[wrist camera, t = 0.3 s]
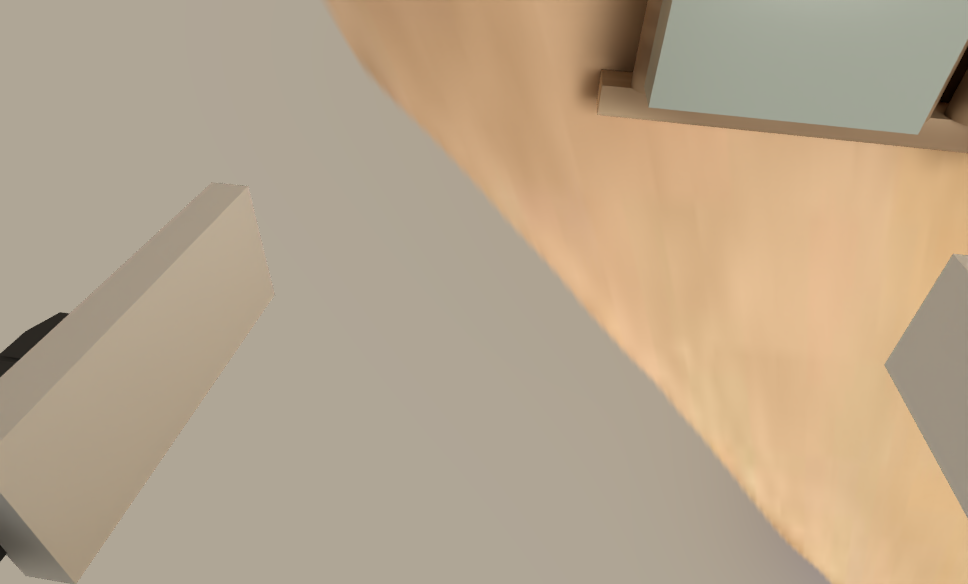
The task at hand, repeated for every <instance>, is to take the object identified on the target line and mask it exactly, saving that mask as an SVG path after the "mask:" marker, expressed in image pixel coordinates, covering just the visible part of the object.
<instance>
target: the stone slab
mask: <svg viewBox="0 0 968 584" xmlns="http://www.w3.org/2000/svg"><path fill="white" fill-rule="evenodd" d="M967 40H968V0H663V1H662V5H661V10H660V14H659V19H658V24H657V28H656V33H655V38H654V42H653V47H652V52H651V56H650V61H649V66H648V70H647V75H646V79H645V84H644V89H645V94H646V98H647V103H648V107H649V108H659V109H669V110H679V111H689V112H699V113H708V114H718V115H728V116H738V117H748V118H758V119H768V120H778V121H787V122H797V123H807V124H817V125H827V126H837V127H847V128H857V129H866V130H876V131H886V132H896V133H906V134H916V135H918V134H919V132H920V130H921V128H922V126H923V124H924V122H925V120H926V118H927V116H928V114H929V113H930V111H931V109H932V107H933V105H934V103H935V101H936V99H937V97H938V95H939V93H940V91H941V90H942V88H943V86H944V84H945V82H946V80H947V78H948V76H949V74H950V72H951V70H952V68H953V67H954V65H955V63H956V61H957V59H958V57H959V55H960V53H961V51H962V49H963V47H964V45H965V43H966V42H967Z"/></svg>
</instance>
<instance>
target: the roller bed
mask: <svg viewBox="0 0 968 584" xmlns="http://www.w3.org/2000/svg"><path fill="white" fill-rule="evenodd" d="M662 1H663V0H648V1H647V6H646V11H645V16H644V21H643V26H642V31H641V35H640V40H639V45H638V50H637V55H636V60H635V65H634V70H633V72H624V71H613V70H603V69H602V70H601V76H600V82H599V88H598V94H597V115H603V116H613V117H623V118H632V119H642V120H652V121H662V122H671V123H681V124H691V125H700V126H710V127H720V128H729V129H739V130H749V131H759V132H768V133H778V134H788V135H797V136H807V137H817V138H827V139H836V140H846V141H856V142H865V143H875V144H885V145H895V146H904V147H914V148H924V149H933V150H943V151H953V152H962V153H968V69H967V71H966V73H965V74H964V76H963V78H962V80H961V82H960V84H959V86H958V88H957V89H956V91H955V93H954V95H953V97H952V99H951V101H950V102H949V103H944V102H939V100H940V98H941V96H942V94H943V92H944V90H945V88H946V86H947V84H948V83H949V81H950V79H951V77H952V75H953V73H954V71H955V69H956V67H957V65H958V64H959V62H960V60H961V58H962V56H963V54H964V52H965V50H966V48H967V46H968V40H967V42H966V43H965V45H964V47H963V49H962V51H961V53H960V55H959V57H958V59H957V61H956V63H955V65H954V67H953V68H952V70H951V72H950V74H949V76H948V78H947V80H946V82H945V84H944V86H943V88H942V90H941V91H940V93H939V95H938V97H937V99H936V101H935V103H934V105H933V107H932V109H931V111H930V113H929V114H928V116H927V118H926V120H925V122H924V124H923V126H922V128H921V130H920V132H919V134H918V135H916V134H906V133H896V132H886V131H876V130H866V129H857V128H847V127H837V126H827V125H817V124H807V123H797V122H787V121H778V120H768V119H758V118H748V117H738V116H728V115H718V114H708V113H699V112H689V111H679V110H669V109H659V108H649V107H648V103H647V98H646V94H645V89H644V84H645V79H646V75H647V70H648V66H649V61H650V56H651V52H652V47H653V42H654V38H655V33H656V28H657V24H658V19H659V14H660V10H661V5H662Z"/></svg>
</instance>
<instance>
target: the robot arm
mask: <svg viewBox="0 0 968 584" xmlns="http://www.w3.org/2000/svg"><path fill="white" fill-rule="evenodd" d="M274 295H275V294H274V290H273V286H272V282H271V277H270V273H269V269H268V266H267V261H266V257H265V253H264V249H263V245H262V240H261V237H260V232H259V228H258V224H257V220H256V216H255V212H254V208H253V204H252V199H251V195H250V191H249V187H248V186H243V185H233V184H223V183H211V184H210V185H209V186H208V187H206V188H205V189H204V190H203V191H202V192H201V193H200V194H199V195H198V196H197V197H196V198H195V199H193V200H192V201H191V202H190V203H189V204H188V205H187V206H186V207H185V208H184V209H183V210H181V211H180V212H179V213H178V214H177V215H176V216H175V217H174V218H173V219H172V220H171V221H169V222H168V223H167V224H166V225H165V226H164V227H163V228H162V229H161V230H160V231H159V232H158V233H157V234H156V235H154V236H153V237H152V238H151V239H150V240H149V241H148V242H147V243H146V244H145V245H144V246H142V247H141V248H140V249H139V250H138V251H137V252H136V253H135V254H134V255H133V256H132V257H131V258H129V259H128V260H127V261H126V262H125V263H124V264H123V265H122V266H121V267H120V268H118V269H117V270H116V271H115V272H114V273H113V274H112V275H111V276H110V277H109V278H108V279H107V280H106V281H104V282H103V283H102V284H101V285H100V286H99V287H98V288H97V289H96V290H95V291H94V292H92V294H90V295H89V296H88V297H87V298H86V299H85V300H84V301H83V302H82V303H81V304H80V305H78V306H77V307H76V308H75V309H74V310H73V311H72V312H71V313H70V314H68V313H58V314H56V315H55V316H53V317H51V318H49V319H47V320H45V321H44V322H42V323H40V324H38V325H36V326H35V327H33V328H31V329H29V330H28V331H25V333H23V334H22V335H21V336H20V337H19V338H18V339H17V340H15V341H14V342H13V343H12V344H11V345H10V346H8V347H7V348H6V349H5V350H4V351H3V352H2V353H0V561H1V560H2V559H3V557H4V556H5V555H8V557H9V558H10V559H11V560H12V561H13V562H14V563H15V565H16V566H17V567H18V568H19V569H20V570H21V571H22V572H23V573H24V574H25V576H29V577H35V578H41V579H47V580H53V581H59V582H64V583H70V584H76V583H77V582H78V580H79V579H80V578H81V576H82V575H83V573H84V572H85V570H86V569H87V567H88V566H89V565H90V563H91V562H92V560H93V559H94V557H95V556H96V554H97V553H98V551H99V550H100V548H101V547H102V546H103V544H104V542H105V541H106V540H107V538H108V537H109V535H110V534H111V532H112V531H113V530H114V528H115V527H116V525H117V524H118V522H119V521H120V519H121V518H122V516H123V515H124V514H125V512H126V510H127V509H128V508H129V506H130V505H131V503H132V502H133V500H134V499H135V497H136V496H137V495H138V493H139V492H140V490H141V489H142V487H143V486H144V484H145V483H146V482H147V480H148V479H149V477H150V476H151V474H152V473H153V471H154V470H155V468H156V467H157V465H158V464H159V463H160V461H161V460H162V458H163V457H164V455H165V454H166V452H167V451H168V450H169V448H170V447H171V445H172V444H173V442H174V441H175V439H176V438H177V436H178V435H179V434H180V432H181V431H182V429H183V428H184V426H185V425H186V423H187V422H188V420H189V419H190V417H191V416H192V415H193V413H194V412H195V410H196V409H197V407H198V406H199V404H200V403H201V401H202V400H203V398H204V397H205V396H206V394H207V393H208V391H209V390H210V388H211V387H212V385H213V384H214V383H215V381H216V380H217V378H218V377H219V375H220V374H221V372H222V371H223V369H224V368H225V367H226V365H227V364H228V362H229V361H230V359H231V358H232V356H233V355H234V353H235V352H236V350H237V349H238V348H239V346H240V344H241V343H242V342H243V340H244V339H245V337H246V336H247V334H248V333H249V331H250V330H251V329H252V327H253V326H254V324H255V323H256V321H257V320H258V318H259V317H260V316H261V314H262V313H263V311H264V309H265V308H266V307H267V305H268V304H269V302H270V301H271V299H272V298H273V297H274ZM884 365H885V367H886V369H887V371H888V373H889V374H890V376H891V378H892V380H893V382H894V384H895V385H896V387H897V389H898V391H899V393H900V395H901V396H902V398H903V400H904V402H905V404H906V406H907V407H908V409H909V411H910V413H911V415H912V417H913V419H914V420H915V422H916V424H917V426H918V428H919V430H920V431H921V433H922V435H923V437H924V439H925V441H926V442H927V444H928V446H929V448H930V450H931V452H932V453H933V455H934V457H935V459H936V461H937V463H938V465H939V466H940V468H941V470H942V472H943V474H944V476H945V477H946V479H947V481H948V483H949V485H950V487H951V488H952V490H953V492H954V494H955V496H956V498H957V500H958V501H959V503H960V505H961V507H962V509H963V511H964V512H965V514H966V516H967V518H968V255H959V254H953V255H952V256H951V258H950V259H949V261H948V263H947V264H946V266H945V268H944V269H943V271H942V272H941V274H940V276H939V277H938V279H937V280H936V282H935V284H934V285H933V287H932V289H931V290H930V292H929V293H928V295H927V297H926V298H925V300H924V301H923V303H922V305H921V306H920V308H919V310H918V311H917V313H916V314H915V316H914V318H913V319H912V321H911V322H910V324H909V326H908V327H907V329H906V331H905V332H904V334H903V335H902V337H901V339H900V340H899V342H898V343H897V345H896V347H895V348H894V350H893V352H892V353H891V355H890V356H889V358H888V360H887V361H886V363H885V364H884Z"/></svg>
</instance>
